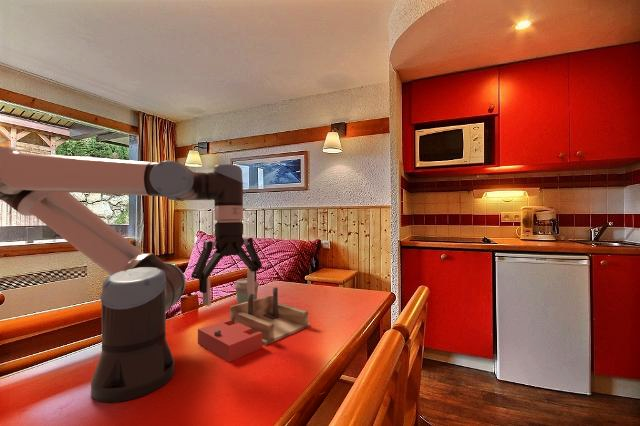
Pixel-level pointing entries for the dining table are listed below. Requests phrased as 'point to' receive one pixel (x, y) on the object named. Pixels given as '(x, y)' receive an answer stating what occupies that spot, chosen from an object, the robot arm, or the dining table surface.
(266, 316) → the carcass
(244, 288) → the coffee cup
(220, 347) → the red rectangular block
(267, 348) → the dining table surface
